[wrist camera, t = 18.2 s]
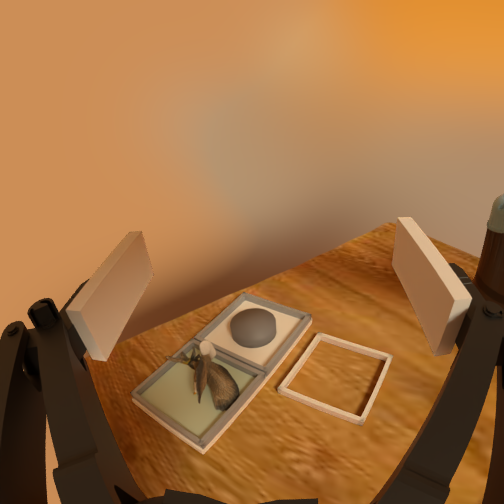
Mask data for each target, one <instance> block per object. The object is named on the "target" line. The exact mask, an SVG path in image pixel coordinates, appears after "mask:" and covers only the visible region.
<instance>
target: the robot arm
mask: <svg viewBox="0 0 504 504" xmlns="http://www.w3.org/2000/svg"><path fill="white" fill-rule="evenodd" d="M392 267H393V268H394V270H395V272H396V274H397V276H398V278H399V280H400V282H401V284H402V286H403V288H404V290H405V292H406V294H407V296H408V299H409V301H410V303H411V305H412V307H413V309H414V311H415V313H416V316H417V318H418V320H419V322H420V324H421V327H422V329H423V331H424V333H425V336H426V338H427V340H428V343H429V345H430V347H431V350H432V352H433V355H434V356H439V355H445V354H450V353H451V351H452V349H453V347H454V344H455V343H456V345H457V347H458V349H459V351H458V353H457V355H456V357H455V359H454V361H453V364H452V366H451V368H450V371H449V374H448V376H447V378H446V380H445V382H444V385H443V387H442V389H441V391H440V393H439V395H438V397H437V399H436V401H435V403H434V405H433V407H432V409H431V411H430V413H429V414H428V416H427V418H426V420H425V422H424V424H423V425H422V427H421V429H420V431H419V432H418V434H417V436H416V438H415V439H414V441H413V443H412V444H411V446H410V448H409V449H408V451H407V452H406V454H405V455H404V457H403V459H402V460H401V462H400V463H399V465H398V466H397V468H396V469H395V471H394V472H393V474H392V475H391V476H390V478H389V479H388V481H387V482H386V484H385V485H384V486H383V488H382V489H381V490H380V492H379V493H378V494H377V496H376V497H375V498H374V499H373V501H372V502H371V503H370V504H444V503H445V501H446V499H447V497H448V495H449V492H450V488H449V484H450V482H451V479H452V477H453V476H454V474H455V472H456V470H457V467H458V465H459V463H460V461H461V459H462V457H463V455H464V453H465V450H466V448H467V446H468V443H469V441H470V439H471V436H472V434H473V431H474V429H475V426H476V424H477V421H478V419H479V416H480V413H481V410H482V407H483V405H484V402H485V399H486V396H487V392H488V389H489V386H490V383H491V379H492V376H493V372H494V369H495V366H497V401H496V418H495V430H494V440H493V448H492V455H491V462H490V468H489V474H488V479H487V484H486V489H485V494H484V498H483V502H482V504H504V194H503V195H500V196H499V197H497V198H496V200H495V201H494V203H493V206H492V210H491V214H490V218H489V220H488V222H487V232H486V237H485V241H484V245H483V249H482V254H481V257H480V261H479V264H478V268H477V272H476V275H475V277H474V279H473V280H472V281H471V280H470V278H468V276H467V274H466V273H465V272H464V270H463V269H462V268H460V267H459V266H457V265H456V264H455V263H447V262H446V260H445V259H444V258H443V256H442V255H441V254H440V253H439V251H438V250H437V249H436V247H435V246H434V245H433V244H432V242H431V241H430V240H429V239H428V237H427V236H426V235H425V234H424V232H423V231H422V230H421V229H420V227H419V226H418V225H417V224H416V223H415V221H414V220H413V219H412V218H411V217H402V218H401V217H399V218H397V226H396V235H395V244H394V251H393V259H392ZM153 276H154V273H153V270H152V266H151V263H150V259H149V256H148V252H147V249H146V245H145V242H144V238H143V234H142V231H136V232H129V233H128V234H127V235H126V236H125V238H124V239H123V240H122V241H121V242H120V243H119V245H118V246H117V247H116V248H115V249H114V250H113V252H112V253H111V254H110V255H109V256H108V257H107V259H106V260H105V261H104V262H103V263H102V264H101V266H100V267H99V268H98V269H97V271H96V272H95V273H94V274H93V275H92V277H91V278H90V279H88V280H87V281H85V282H84V283H82V284H81V285H80V286H79V288H78V289H77V290H76V291H75V293H74V294H73V295H72V296H71V298H70V299H69V300H68V302H67V303H66V304H65V305H64V307H63V308H62V309H61V311H60V312H58V310H57V308H56V306H55V304H54V302H53V300H52V299H50V298H44V299H41V300H39V301H37V302H35V303H34V304H33V305H32V306H31V307H30V308H29V310H28V316H29V318H30V319H31V321H32V323H33V325H34V326H35V328H34V329H28V330H27V328H26V327H25V325H24V323H23V322H21V321H16V322H13V323H11V324H10V325H8V326H7V327H6V329H5V330H4V331H3V333H2V336H1V339H0V504H48V502H47V489H46V469H45V468H46V464H45V439H46V414H47V419H48V424H49V428H50V433H51V437H52V441H53V445H54V449H55V453H56V457H57V461H58V468H56V469H53V477H54V482H55V485H56V488H57V491H58V494H59V498H60V501H61V504H226V503H223V502H220V501H217V500H214V499H211V498H209V497H206V496H203V495H200V494H193V493H186V492H180V491H174V490H169V489H166V490H165V495H164V496H160V497H153V498H149V499H147V498H146V496H145V495H144V494H143V492H142V491H141V490H140V489H139V487H138V486H137V484H136V483H135V481H134V479H133V477H132V475H131V473H130V471H129V469H128V467H127V465H126V463H125V461H124V458H123V456H122V454H121V452H120V450H119V448H118V445H117V443H116V441H115V438H114V436H113V434H112V431H111V429H110V427H109V424H108V422H107V419H106V417H105V414H104V411H103V409H102V406H101V403H100V401H99V398H98V395H97V392H96V390H95V387H94V384H93V381H92V378H91V375H90V371H89V368H88V365H87V362H86V360H85V358H84V357H83V355H84V354H85V352H86V350H87V351H88V353H89V355H90V356H91V358H92V360H99V361H107V359H108V357H109V355H110V353H111V352H112V350H113V348H114V346H115V344H116V342H117V340H118V338H119V336H120V334H121V332H122V331H123V329H124V327H125V325H126V323H127V321H128V320H129V318H130V316H131V314H132V312H133V311H134V309H135V307H136V305H137V303H138V301H139V300H140V298H141V296H142V295H143V293H144V291H145V289H146V288H147V286H148V284H149V282H150V281H151V279H152V277H153ZM23 369H24V371H23ZM260 504H318V498H317V499H295V500H275V501H271V502H265V503H260Z"/></svg>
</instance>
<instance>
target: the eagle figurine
mask: <svg viewBox="0 0 504 504" xmlns="http://www.w3.org/2000/svg"><path fill="white" fill-rule="evenodd" d="M192 348H193V351H192V355H191V358H188V357H187V356H186V354H185V353H184V352H181V358H172V357H170V356H166V358H167V359H168V360H170V361H172V362H177V363H179V362H180V363H182V364H186V365H188V366H189V367H191V368H192V369H194V370H195V373H194V393H193V394H194V395H195V394H196V393H197V395H198V402H199V404H200V400H201V395H202V393H203V391H204V389H205V387H206V383H207V384H208V385H209V386H210V388H211V391H212V393H213V396H214V403H215V408H216V410H220V411H222V412H223V411H224V410H225V411H227V410H228V409H229V408H230V407H231V406H232V405H233V403H234V402H235V401H236V400H237V399H238V397H239V396H240V392H239V387H238V384H237V383H236V381H235V380H234V379H233V378H232V376H231V374H230V373H229V371H228V370H227V369H226V368H224V367H223V366H221V365H220V364H217V363H214V362H212V361H211V360H212V359H213V358H214V357H215V356H216V351H215V349H214V347H213V344H212V343H211V342H210V341H207V340H205V341H202V342H201V343H200V345H199V348H200V352H201V356H200V354H198V355H197V356H196V351H195V347H194V346H192ZM195 356H196V357H195ZM198 358H200V360H198Z"/></svg>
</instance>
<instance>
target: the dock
mask: <svg viewBox="0 0 504 504" xmlns="http://www.w3.org/2000/svg"><path fill="white" fill-rule="evenodd" d="M311 324H312V318H311V314H309V313H306V312H303V311H300V310H296V309H293V308H290V307H287V306H284V305H281V304H278V303H275V302H272V301H269V300H266V299H263V298H260V297H257V296H254V295H251V294H248V293H245V292H243V293H242V294H241V295H240V296H239V297H238V298H237V299H236V300H234V301H233V302H232V303H231V304H230V305H229V306H228V307H227V308H226V309H225V310H223V311H222V312H221V313H220V314H219V315H218V316H217V317H216V318H215V319H213V320H212V321H211V322H210V323H209V324H208V325H207V326H206V327H205V328H203V329H202V330H201V331H200V332H199V333H198V334H197V335H196V336H194V339H193V338H192V339H191V340H190V341H189V342H188V343H187V344H185V345H184V346H183V347H182V348H181V349H180V350H179V351H177V352H176V353H175V354H174V355H173V356H172V358H181V352H184V353H185V354H186V356H187V357H188V358H191V355H192V351H193V348H192V346H194V347H195V351H196V356H197V355H198V354H200V356H201V352H200V348H199V345H200V343H201V342H202V341H205V340H207V341H210V342H211V343H212V344H213V347H214V349H215V351H216V356H215V357H214V358H213V359H212V360H211V361H212V362H214V363H217V364H220V365H221V366H223V367H224V368H226V369H227V370H228V371H229V373H230V374H231V376H232V378H233V379H234V380H235V381H236V383H237V384H238V387H239V392H240V396H239V397H238V399H237V400H236V401H235V402H234V403H233V405H232V406H231V407H230V408H229V409H228V410H227V411H225V410H224V411H223V412H222V411H220V410H216V408H215V403H214V396H213V393H212V391H211V388H210V386H209V385H208V384H207V383H206V387H205V389H204V391H203V393H202V395H201V400H200V404H199V402H198V395H197V393H196V394H195V395H194V394H193V393H194V373H195V370H194V369H192V368H191V367H189V366H188V365H186V364H182V363H180V362H179V363H177V362H172V361H170V360H167V361H166V362H165V363H164V364H163V365H162V366H160V367H159V368H158V369H157V370H156V371H155V372H154V373H152V374H151V375H150V376H149V377H148V378H147V379H145V380H144V381H143V382H142V383H141V384H140V385H139V386H137V387H136V388H135V389H134V390H133V391H132V392H130V393H131V395H132V397H133V398H132V401H133V402H134V404H136V405H137V406H138V407H139V408H140V409H142V410H143V411H144V412H145V413H147V414H148V415H149V416H150V417H152V418H153V419H154V420H156V421H157V422H158V423H159V424H161V425H162V426H163V427H165V428H166V429H167V430H169V431H170V432H171V433H173V434H174V435H176V436H177V437H178V438H180V439H181V440H183V441H184V442H185V443H187V444H188V445H190V446H191V447H193V448H194V449H196V450H197V451H199V452H200V453H202V454H203V455H204V453H205V452H206V451H207V450H208V449H209V448H210V447H211V446H212V445H213V444H214V443H215V442H216V440H217V439H218V438H219V437H220V436H221V435H222V434H223V433H224V432H225V430H226V429H227V428H228V427H229V426H230V425H231V424H232V423H233V421H234V420H235V419H236V418H237V417H238V416H239V414H240V413H241V412H242V411H243V410H244V409H245V407H246V406H247V405H248V404H249V403H250V402H251V400H252V399H253V398H254V397H255V396H256V394H257V393H258V392H259V391H260V390H261V388H262V387H263V386H264V385H265V383H266V382H267V381H268V380H269V378H270V377H271V376H272V375H273V373H274V372H275V371H276V370H277V368H278V367H279V366H280V365H281V363H282V362H283V361H284V359H285V358H286V357H287V356H288V354H289V353H290V352H291V350H292V349H293V348H294V347H295V345H296V344H297V343H298V341H299V340H300V339H301V337H302V336H303V335H304V333H305V332H306V331H307V329H308V328H309V326H310V325H311ZM196 356H195V357H196ZM198 360H200V358H198Z"/></svg>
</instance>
